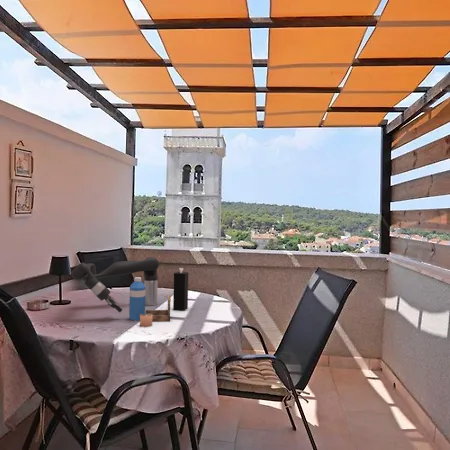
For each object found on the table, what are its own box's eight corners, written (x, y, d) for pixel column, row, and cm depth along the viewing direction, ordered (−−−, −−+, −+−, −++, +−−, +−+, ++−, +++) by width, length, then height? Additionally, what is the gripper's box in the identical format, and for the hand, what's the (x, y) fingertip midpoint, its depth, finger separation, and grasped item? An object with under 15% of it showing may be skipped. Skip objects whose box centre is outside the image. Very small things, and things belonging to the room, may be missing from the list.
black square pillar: (184, 311, 282) (185, 268, 281) (172, 310, 283) (173, 268, 282) (187, 308, 289) (188, 267, 288) (176, 307, 291) (177, 266, 290)
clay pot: (137, 325, 243) (137, 315, 243) (145, 323, 249) (145, 312, 249) (146, 327, 239) (146, 316, 239) (154, 324, 245) (154, 314, 245)
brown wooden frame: (145, 321, 252) (145, 300, 251) (145, 315, 266) (146, 295, 266) (170, 321, 254) (170, 299, 254) (169, 315, 269) (169, 295, 268)
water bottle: (144, 320, 254) (145, 278, 254) (128, 320, 253) (129, 278, 252) (145, 316, 263) (145, 276, 263) (129, 317, 262) (130, 276, 261)
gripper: (97, 293, 260) (117, 313, 262) (94, 297, 247) (115, 318, 249) (106, 284, 261) (126, 304, 263) (103, 288, 248) (125, 309, 250)
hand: (121, 311), depth 256 cm, fingers closed
